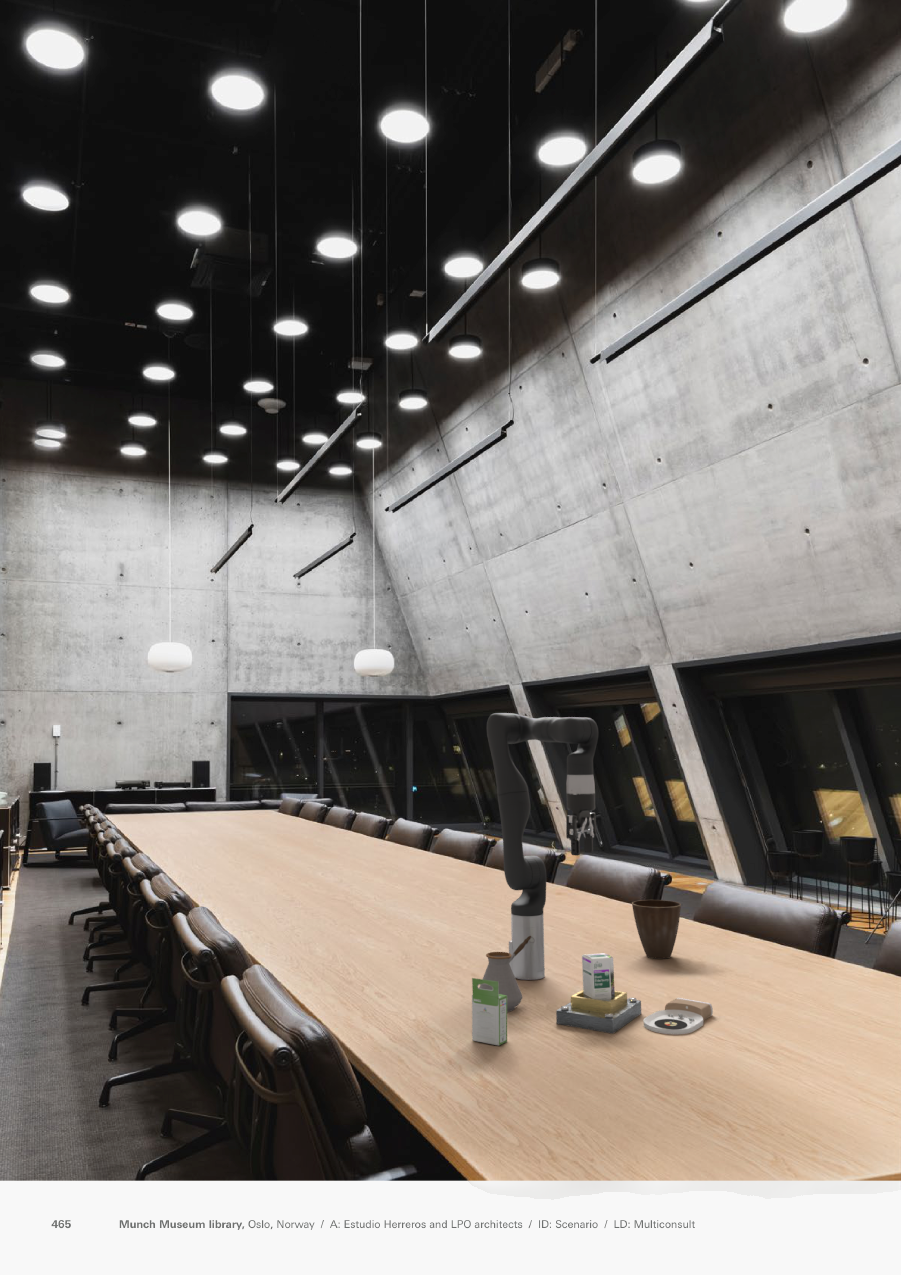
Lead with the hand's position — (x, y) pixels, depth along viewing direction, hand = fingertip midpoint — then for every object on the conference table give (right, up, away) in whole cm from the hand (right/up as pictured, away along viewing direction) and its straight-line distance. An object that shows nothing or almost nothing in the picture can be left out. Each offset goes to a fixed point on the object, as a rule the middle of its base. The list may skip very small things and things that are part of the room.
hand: (582, 853), depth 233 cm
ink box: (-26, -31, -41) cm, 58 cm away
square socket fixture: (0, -33, -25) cm, 41 cm away
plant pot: (+29, -42, +39) cm, 64 cm away
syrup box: (0, -33, -25) cm, 41 cm away
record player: (+18, -33, -28) cm, 47 cm away
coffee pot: (-20, -35, -12) cm, 42 cm away
